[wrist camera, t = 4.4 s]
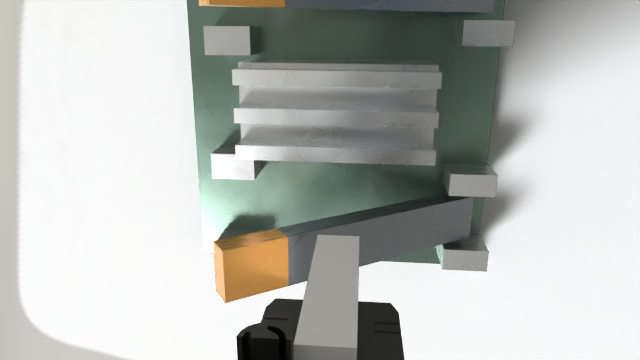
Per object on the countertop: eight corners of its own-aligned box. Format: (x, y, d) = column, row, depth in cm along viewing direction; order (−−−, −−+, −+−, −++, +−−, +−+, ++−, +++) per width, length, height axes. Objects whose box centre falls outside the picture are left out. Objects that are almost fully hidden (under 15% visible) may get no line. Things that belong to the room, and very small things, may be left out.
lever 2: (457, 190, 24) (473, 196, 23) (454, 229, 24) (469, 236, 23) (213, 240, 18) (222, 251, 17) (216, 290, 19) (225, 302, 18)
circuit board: (508, -85, 21) (548, -117, 16) (471, 256, 26) (495, 308, 21) (189, -82, 22) (141, -111, 18) (209, 244, 27) (176, 291, 22)
